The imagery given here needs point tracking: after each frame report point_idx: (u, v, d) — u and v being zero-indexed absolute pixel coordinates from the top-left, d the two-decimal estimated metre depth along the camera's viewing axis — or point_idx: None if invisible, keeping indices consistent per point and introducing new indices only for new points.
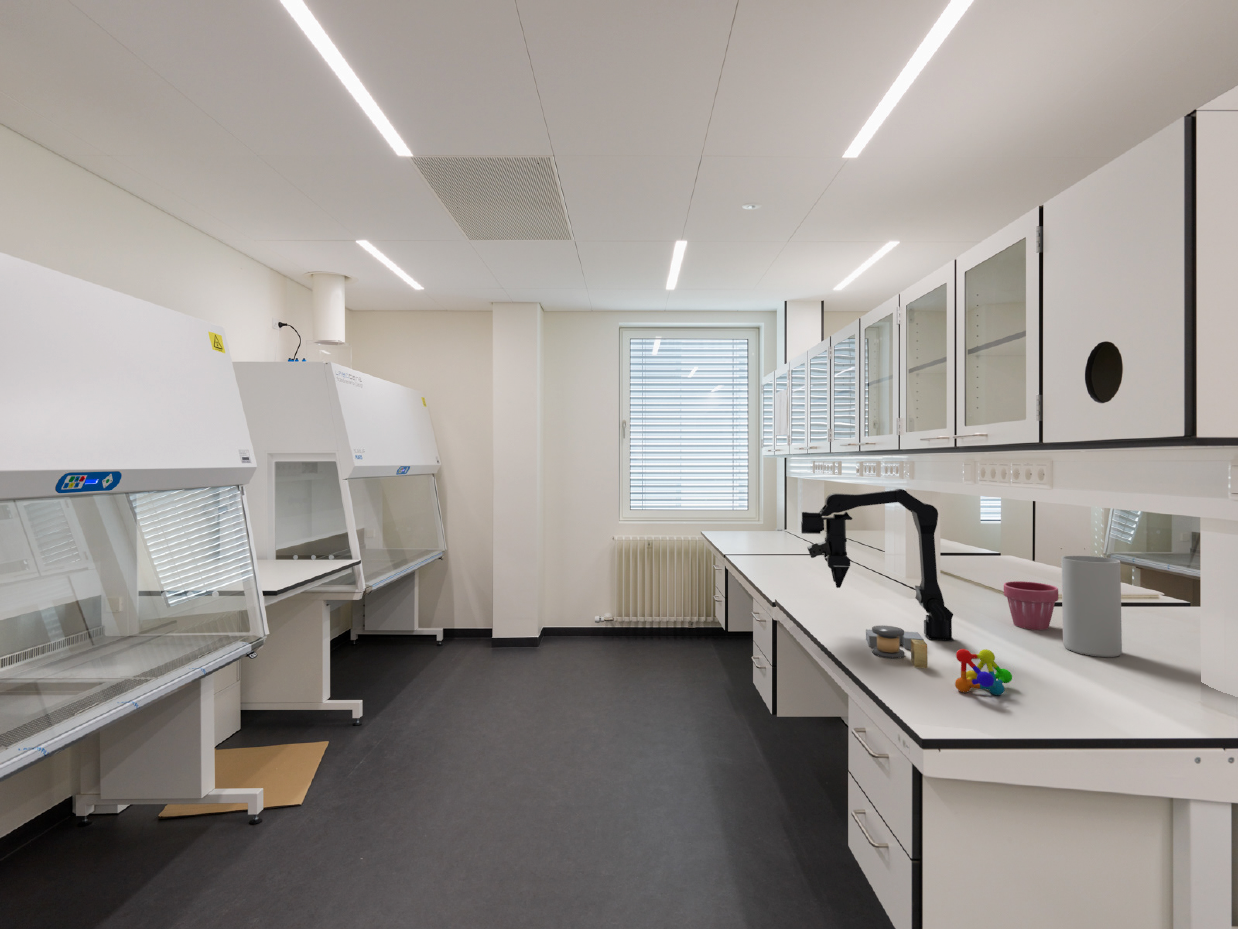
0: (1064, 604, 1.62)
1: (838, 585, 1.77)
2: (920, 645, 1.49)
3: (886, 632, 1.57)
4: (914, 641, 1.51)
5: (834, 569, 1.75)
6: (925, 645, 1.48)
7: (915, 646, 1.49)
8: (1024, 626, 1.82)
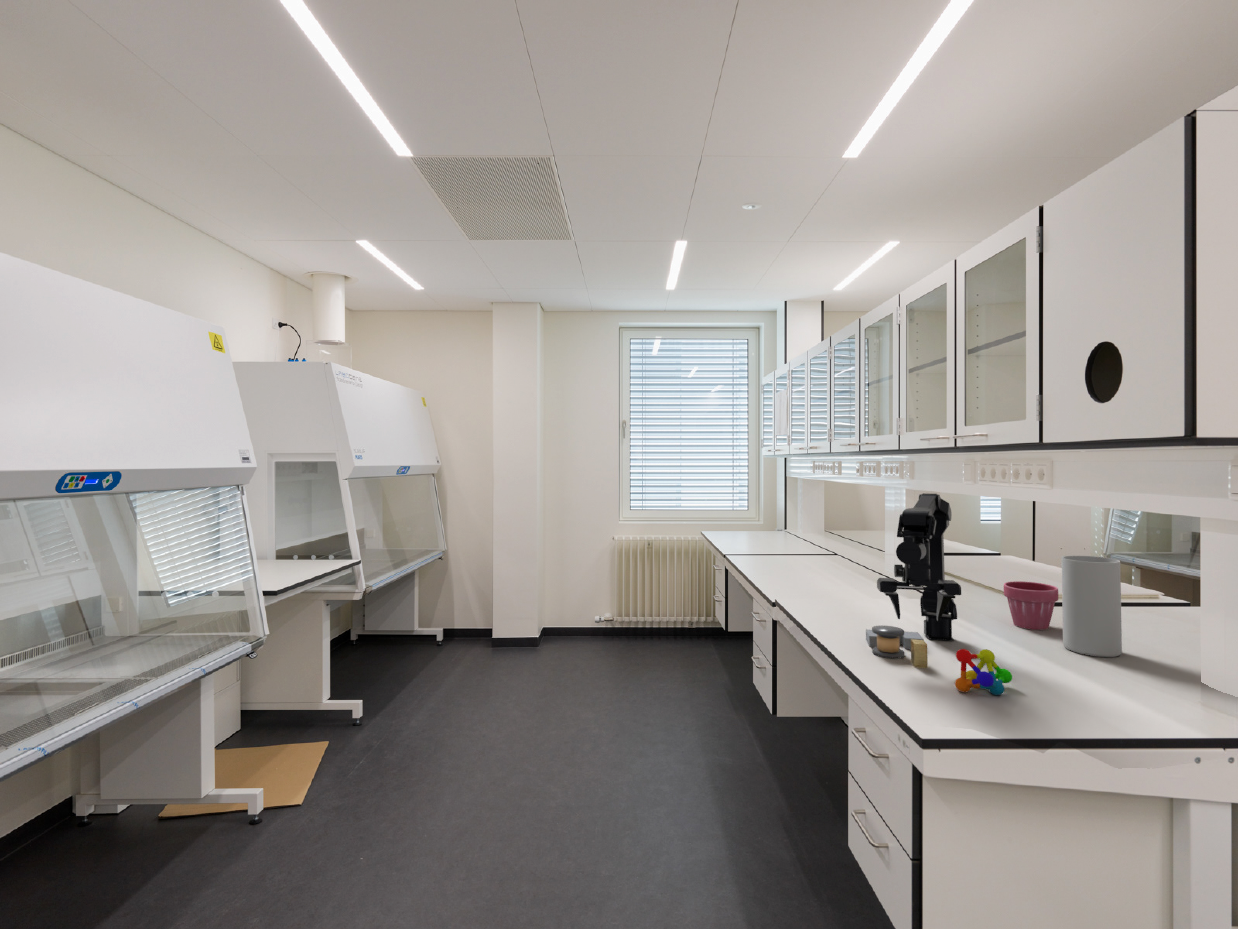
0: (1064, 604, 1.62)
1: None
2: (920, 645, 1.49)
3: (886, 632, 1.57)
4: (914, 641, 1.51)
5: None
6: (925, 645, 1.48)
7: (915, 646, 1.49)
8: (1024, 626, 1.82)
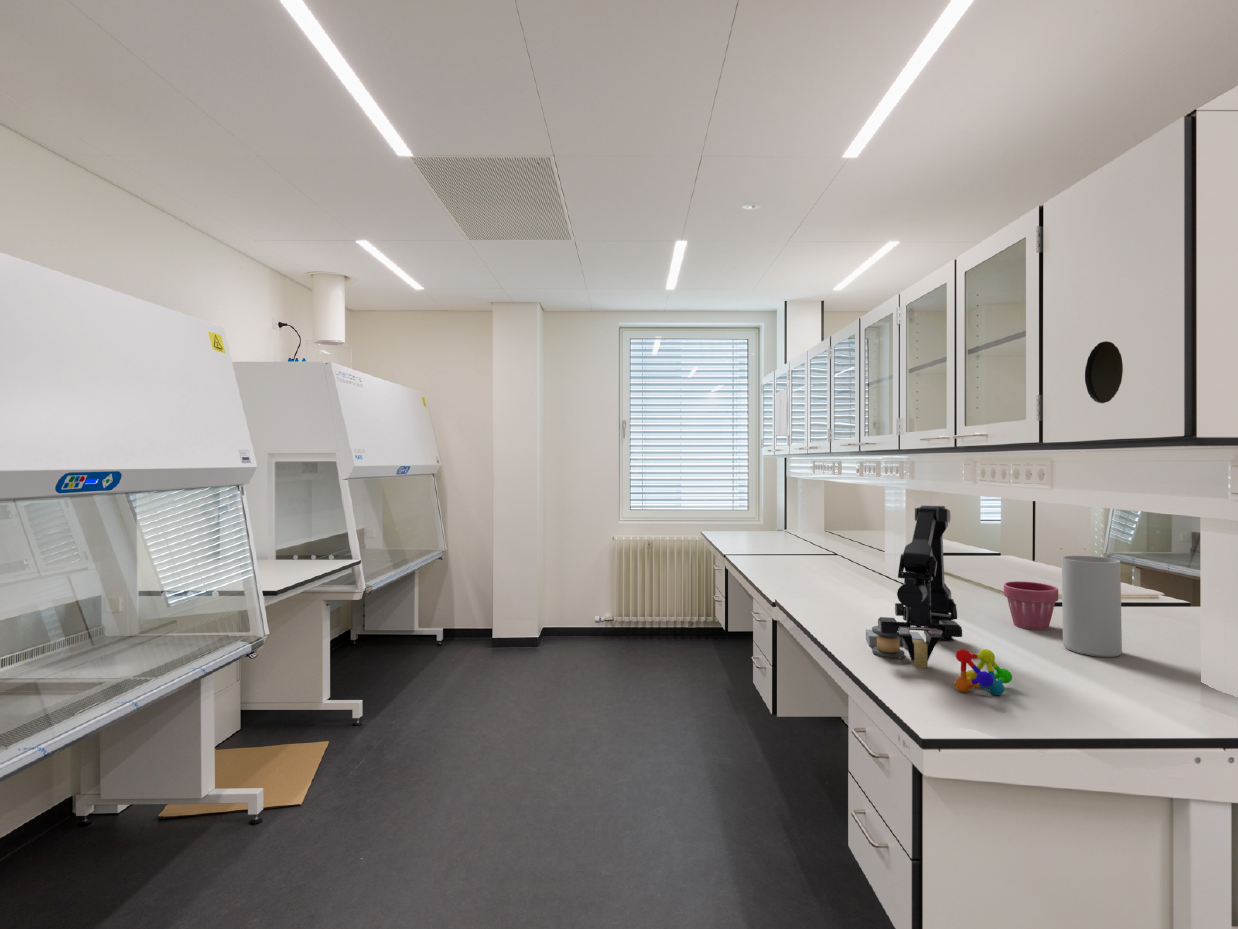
0: (1064, 604, 1.62)
1: (911, 657, 1.51)
2: (920, 645, 1.49)
3: None
4: (914, 641, 1.51)
5: None
6: (925, 645, 1.48)
7: (915, 646, 1.49)
8: (1024, 626, 1.82)
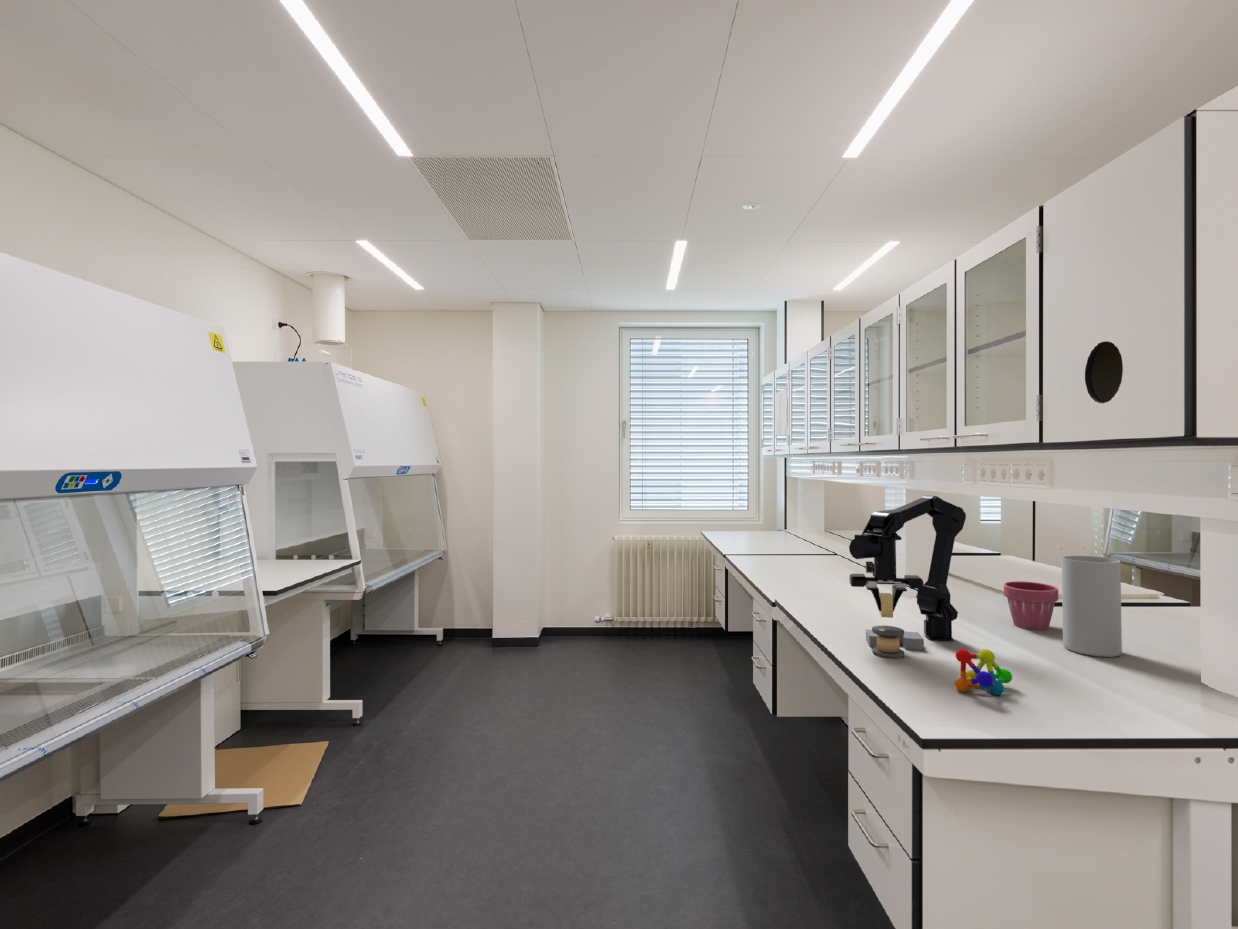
0: (1064, 604, 1.62)
1: (878, 608, 1.67)
2: (886, 597, 1.65)
3: (886, 632, 1.57)
4: (881, 594, 1.67)
5: None
6: (891, 597, 1.65)
7: (882, 598, 1.65)
8: (1024, 626, 1.82)
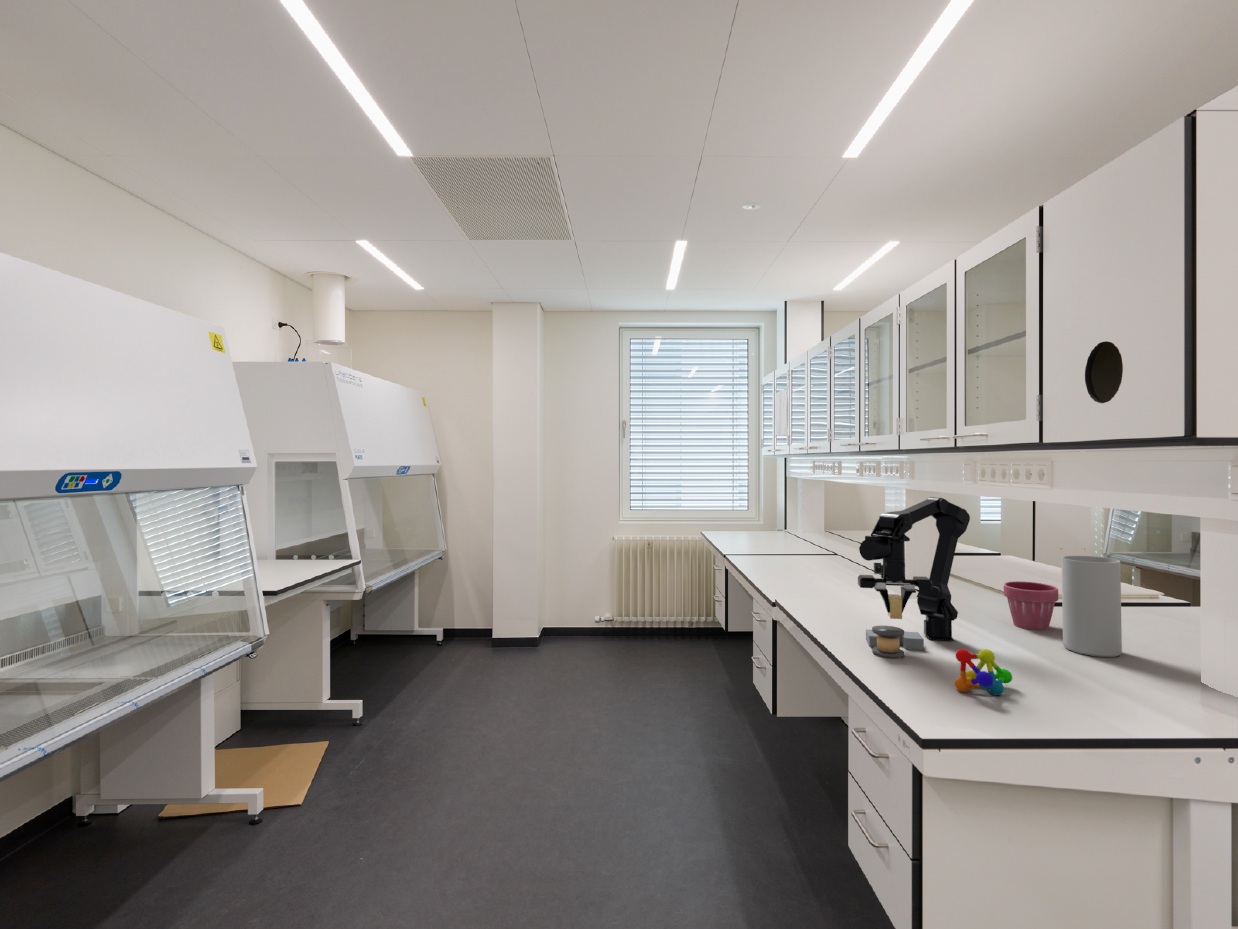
0: (1064, 604, 1.62)
1: (887, 610, 1.67)
2: (895, 598, 1.64)
3: (886, 632, 1.57)
4: (890, 595, 1.67)
5: (880, 591, 1.68)
6: (900, 598, 1.64)
7: (891, 599, 1.65)
8: (1024, 626, 1.82)
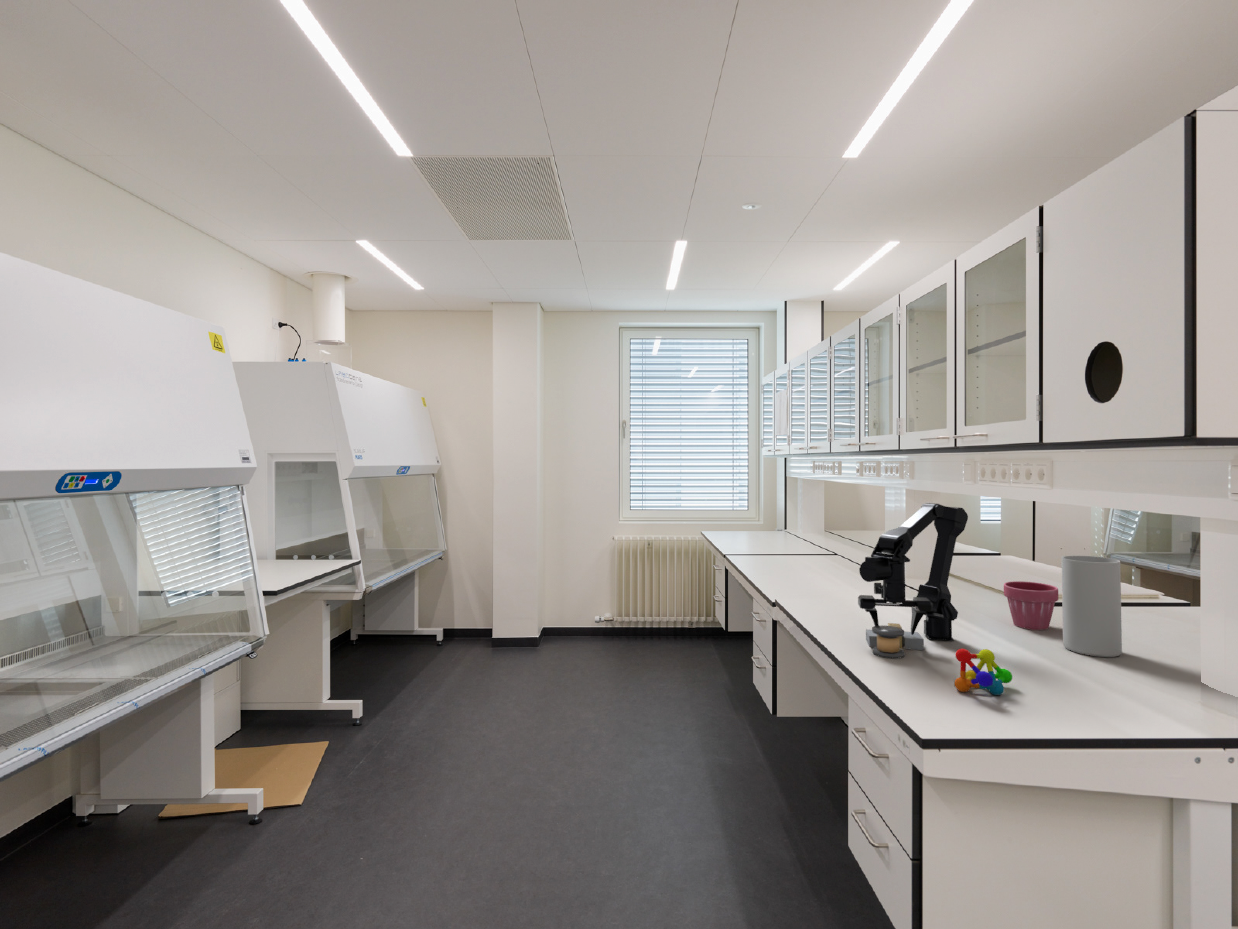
0: (1064, 604, 1.62)
1: None
2: None
3: (886, 632, 1.57)
4: (890, 624, 1.67)
5: None
6: None
7: None
8: (1024, 626, 1.82)
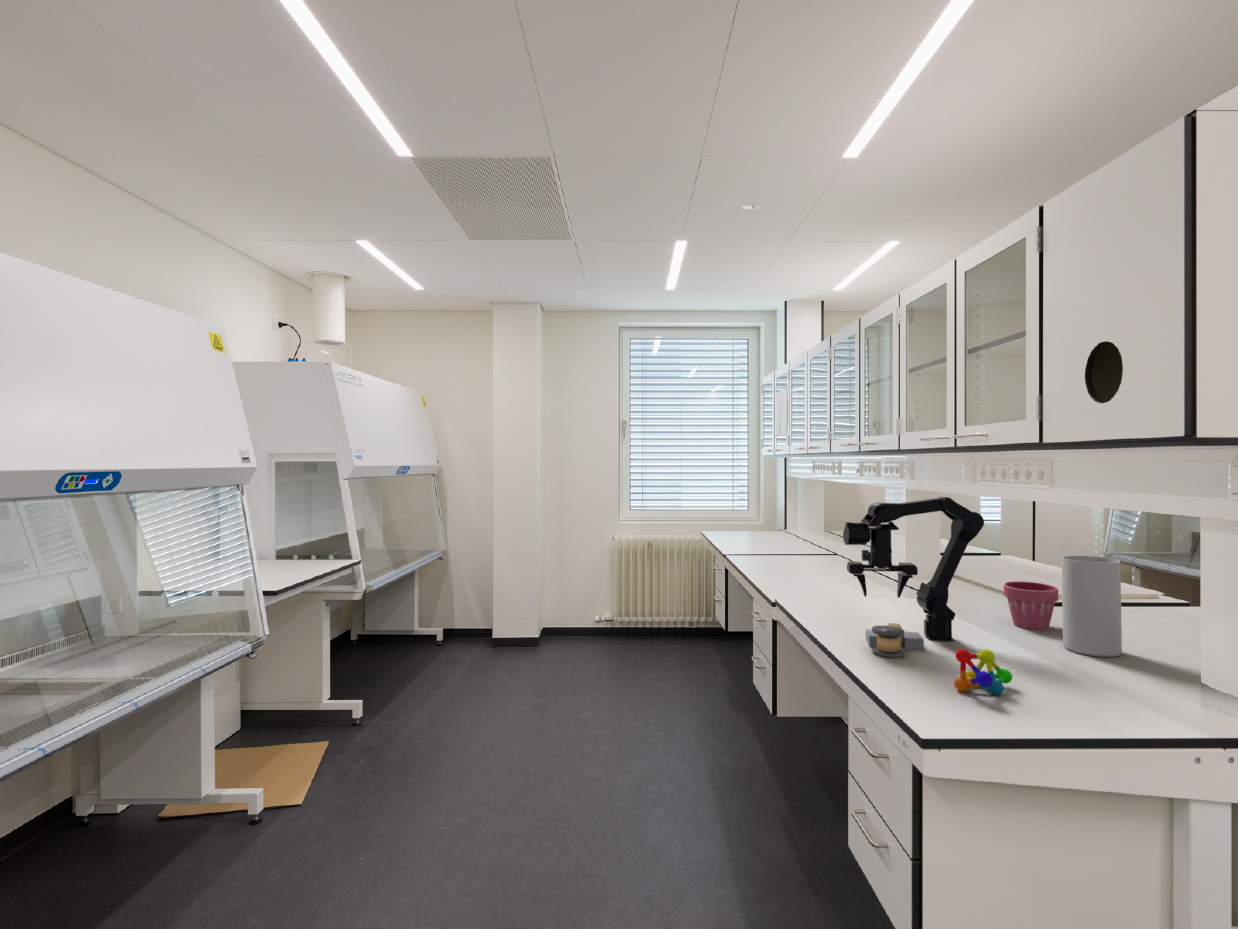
0: (1064, 604, 1.62)
1: None
2: None
3: (886, 632, 1.57)
4: (890, 624, 1.67)
5: None
6: None
7: None
8: (1024, 626, 1.82)
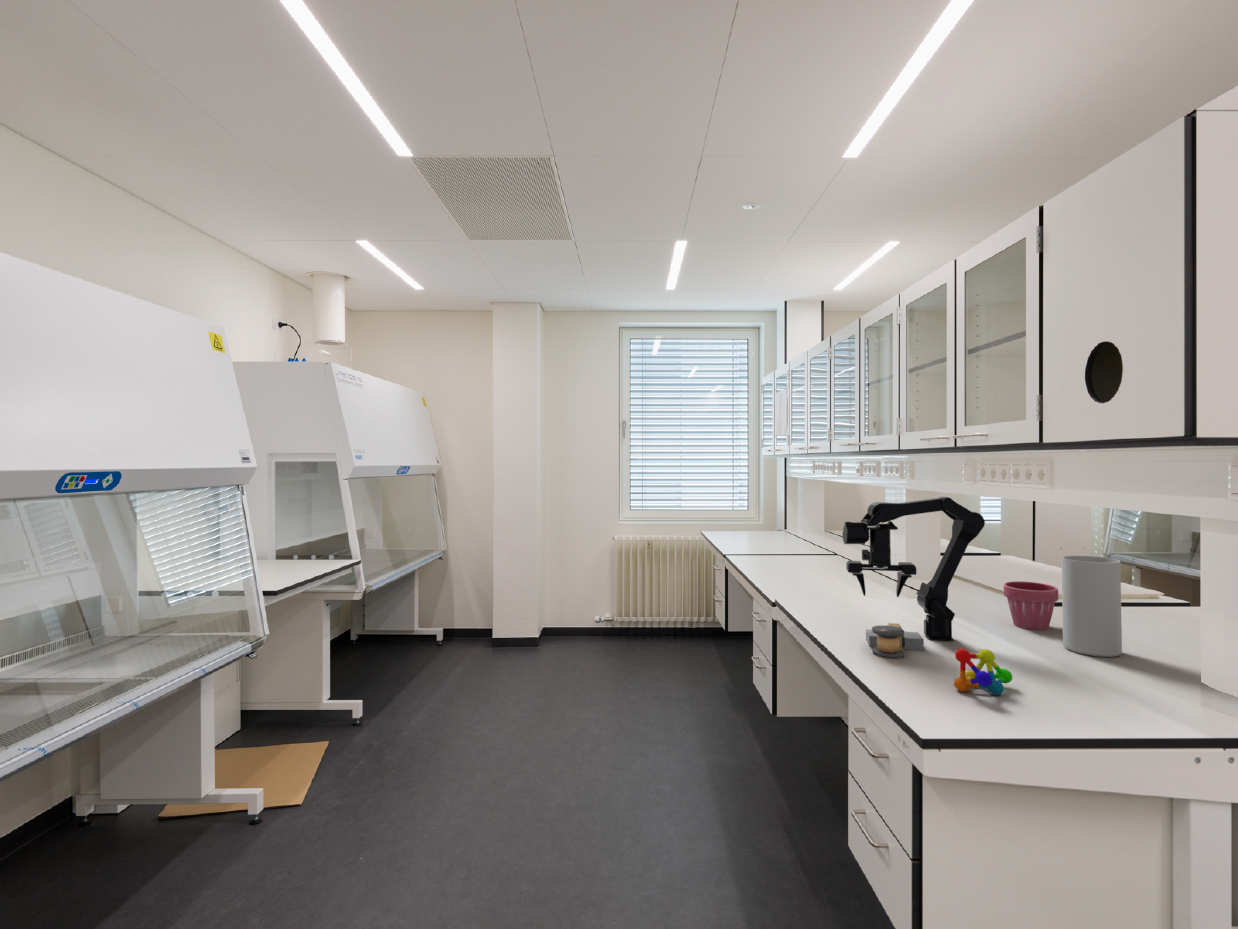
0: (1064, 604, 1.62)
1: None
2: None
3: (886, 632, 1.57)
4: (890, 624, 1.67)
5: (857, 575, 1.79)
6: None
7: None
8: (1024, 626, 1.82)
